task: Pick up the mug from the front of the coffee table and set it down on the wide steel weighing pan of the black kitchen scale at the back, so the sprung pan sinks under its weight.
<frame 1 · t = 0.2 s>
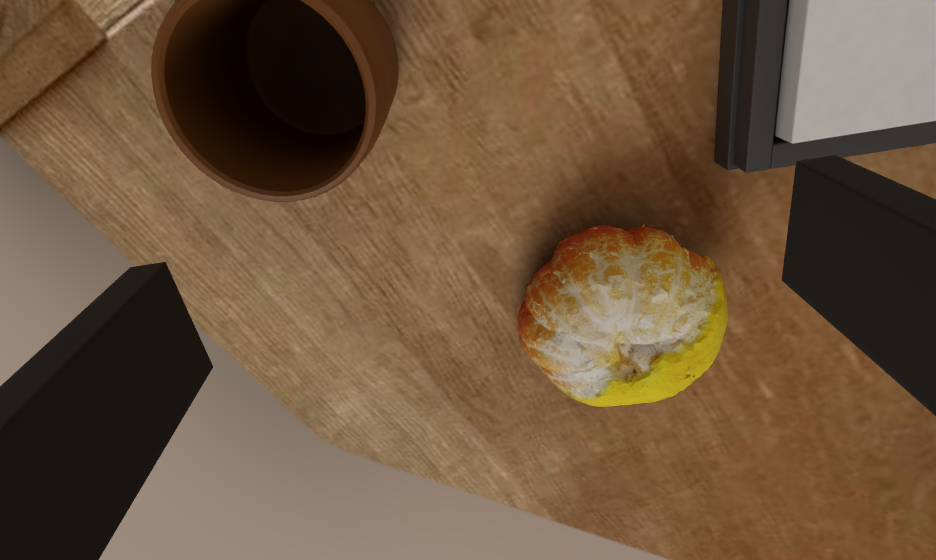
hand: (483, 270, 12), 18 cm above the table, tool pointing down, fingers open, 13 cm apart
fruit: (605, 290, 34), on the table
mug: (290, 20, 26), on the table
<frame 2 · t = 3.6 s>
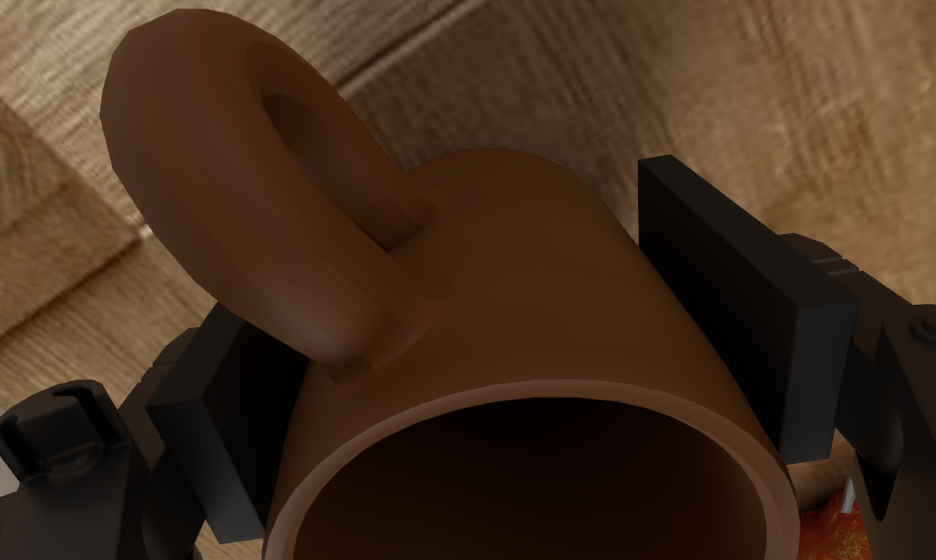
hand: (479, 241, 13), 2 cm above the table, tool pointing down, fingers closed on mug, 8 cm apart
fruit: (866, 542, 23), on the table
mug: (441, 208, 15), on the table, touching gripper
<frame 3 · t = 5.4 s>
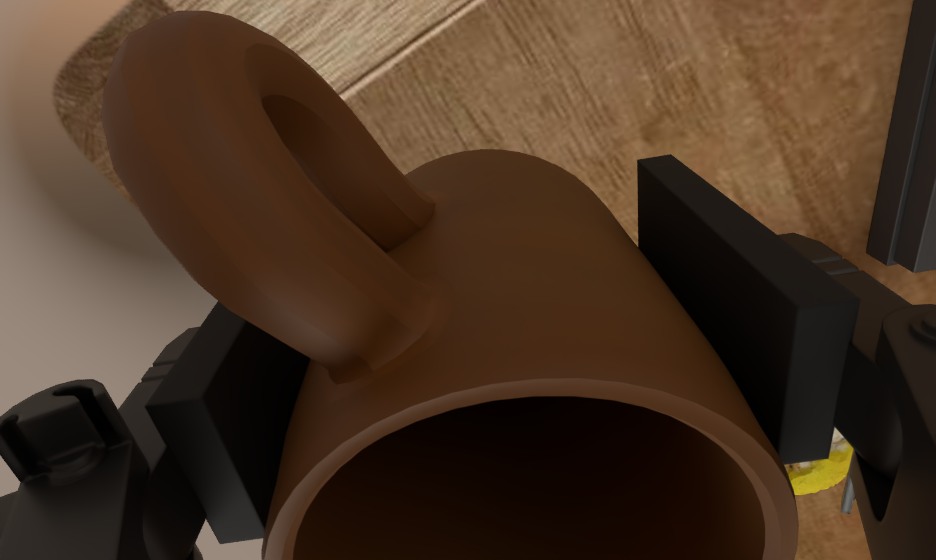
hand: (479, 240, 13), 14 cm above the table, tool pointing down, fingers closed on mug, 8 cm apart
fruit: (740, 373, 33), on the table
mug: (441, 209, 15), point 12 cm above the table, touching gripper
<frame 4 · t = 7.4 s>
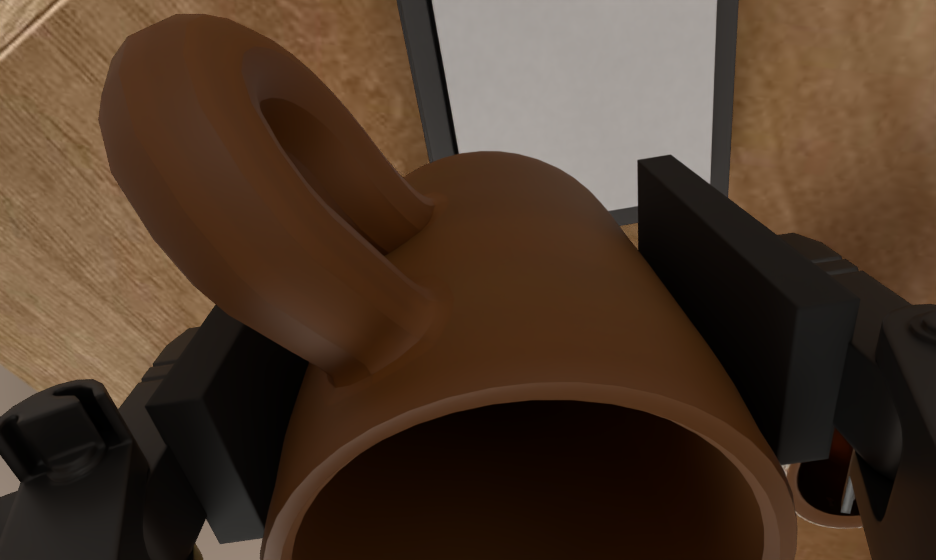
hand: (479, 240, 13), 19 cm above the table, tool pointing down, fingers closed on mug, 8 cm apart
scale pan: (579, 89, 28), point 3 cm above the table, slide at 0.0 cm
mug: (440, 211, 15), point 17 cm above the table, touching gripper
planter: (785, 361, 40), on the table
scale: (566, 79, 30), on the table
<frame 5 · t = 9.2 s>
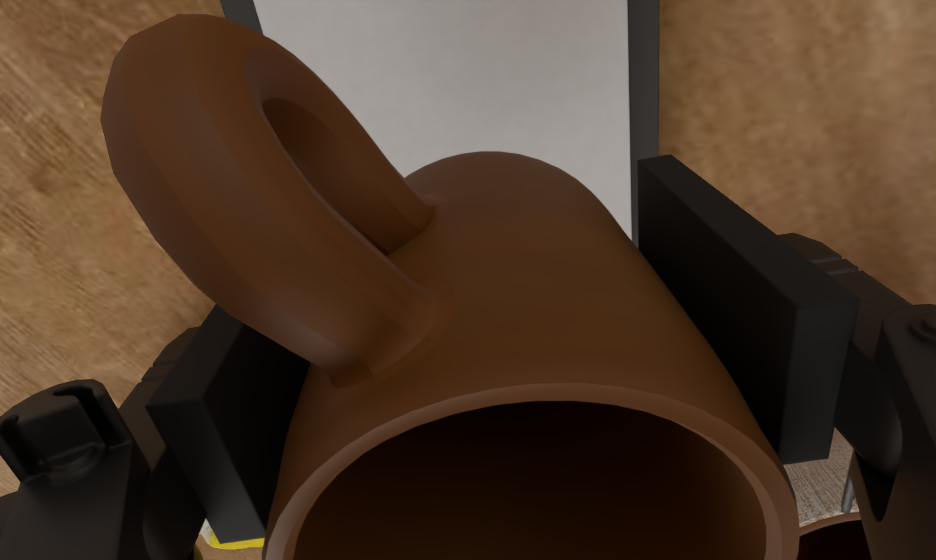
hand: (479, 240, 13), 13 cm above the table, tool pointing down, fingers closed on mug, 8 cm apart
scale pan: (464, 137, 22), point 3 cm above the table, slide at 0.0 cm
fruit: (264, 417, 33), on the table
mug: (441, 211, 15), point 11 cm above the table, touching gripper
planter: (740, 437, 35), on the table
scale: (461, 119, 25), on the table
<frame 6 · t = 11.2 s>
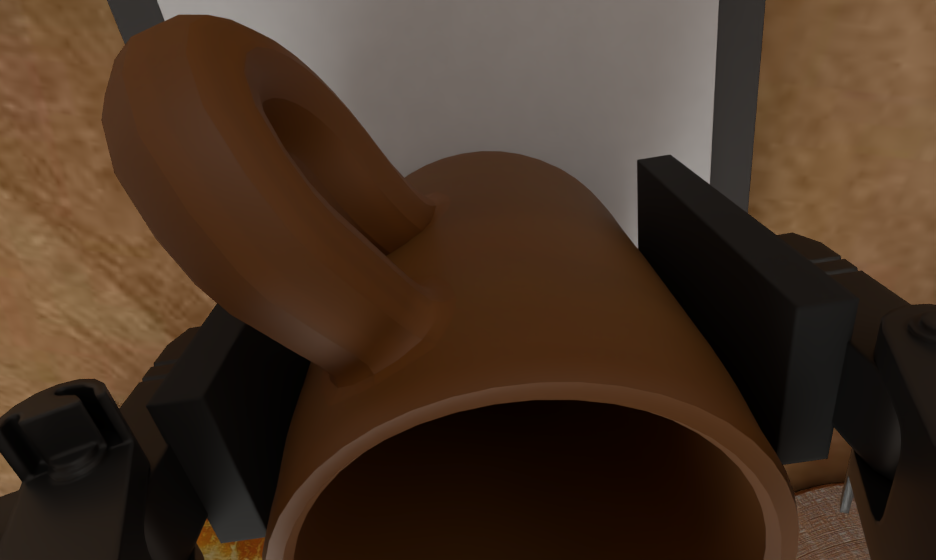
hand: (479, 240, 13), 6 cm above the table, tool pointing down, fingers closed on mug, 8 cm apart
scale pan: (474, 203, 16), point 3 cm above the table, slide at -0.3 cm, touching mug
fruit: (220, 530, 26), on the table
mug: (441, 211, 15), point 4 cm above the table, touching gripper, scale pan
planter: (811, 547, 28), on the table
scale: (470, 172, 18), on the table
when the fingers open (6 cm above the table, at t = 11.3 s): mug stays where it is, resting on scale pan.
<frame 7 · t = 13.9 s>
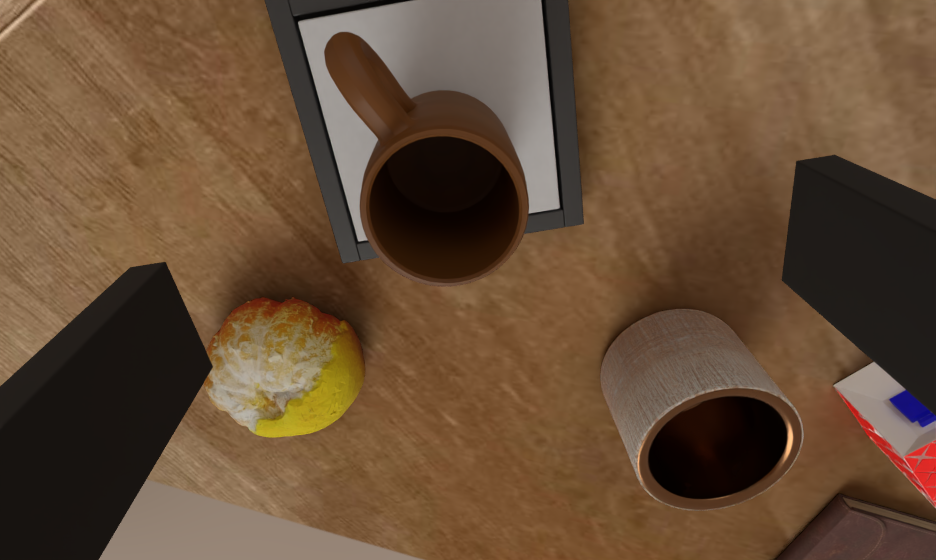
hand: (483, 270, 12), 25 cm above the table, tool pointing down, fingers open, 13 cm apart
scale pan: (439, 120, 32), point 3 cm above the table, slide at -0.7 cm, touching mug
red and white box: (896, 385, 47), on the table
fruit: (293, 344, 42), on the table
mug: (423, 122, 32), point 3 cm above the table, touching scale pan
planter: (665, 362, 45), on the table
scale: (440, 111, 35), on the table
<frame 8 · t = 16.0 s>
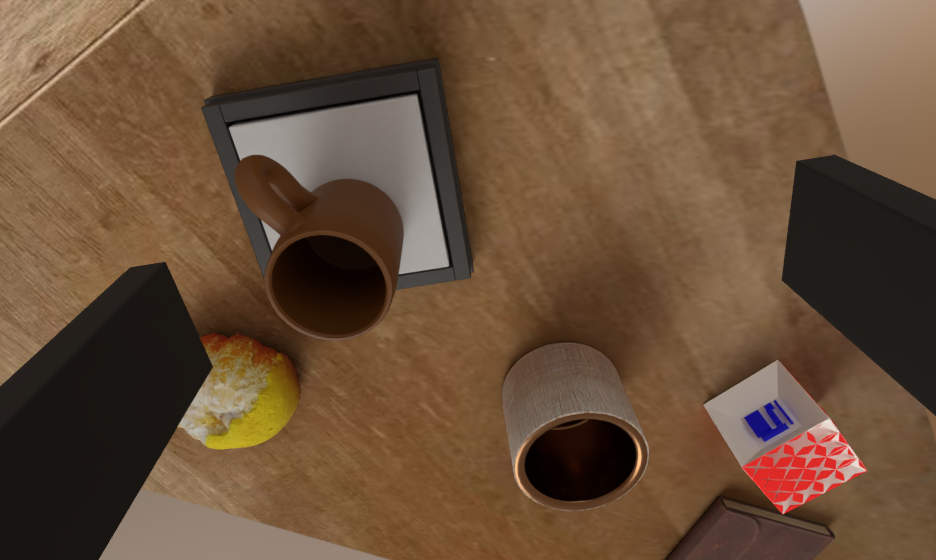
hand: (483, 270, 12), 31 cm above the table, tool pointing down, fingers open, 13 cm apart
scale pan: (347, 198, 40), point 3 cm above the table, slide at -0.7 cm, touching mug
red and white box: (757, 405, 55), on the table
fruit: (241, 369, 50), on the table
mug: (333, 200, 40), point 3 cm above the table, touching scale pan
planter: (558, 385, 53), on the table
scale: (353, 186, 43), on the table
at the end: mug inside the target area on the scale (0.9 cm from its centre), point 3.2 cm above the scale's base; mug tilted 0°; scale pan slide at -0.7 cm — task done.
